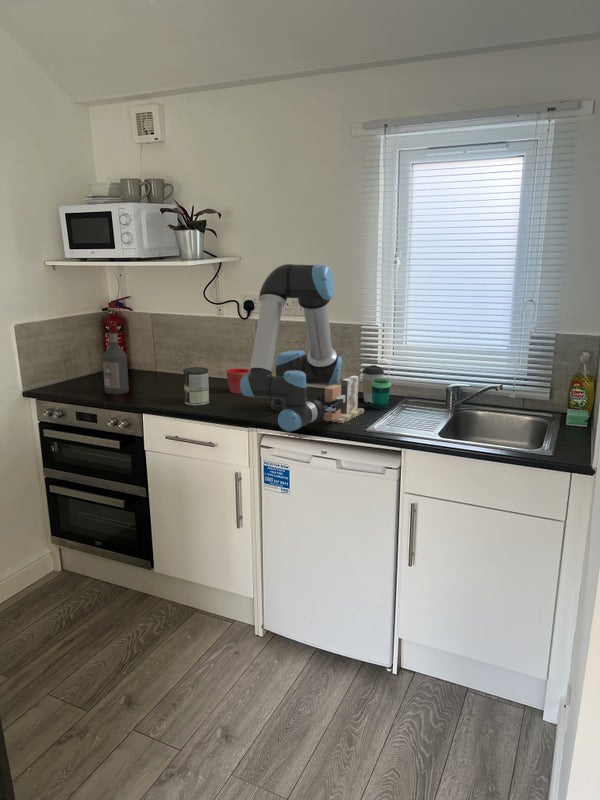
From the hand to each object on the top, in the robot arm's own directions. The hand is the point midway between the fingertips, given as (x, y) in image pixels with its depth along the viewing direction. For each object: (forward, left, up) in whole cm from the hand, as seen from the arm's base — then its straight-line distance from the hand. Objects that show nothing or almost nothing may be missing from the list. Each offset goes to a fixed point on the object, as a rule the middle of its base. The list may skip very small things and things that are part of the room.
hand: (339, 397), depth 234 cm
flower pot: (-43, +44, -9) cm, 62 cm away
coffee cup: (+16, +29, -9) cm, 34 cm away
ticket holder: (+2, +3, -8) cm, 9 cm away
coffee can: (-58, +23, -9) cm, 63 cm away
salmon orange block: (-3, -5, -7) cm, 9 cm away
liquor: (-97, +40, -9) cm, 105 cm away
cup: (+18, +17, -9) cm, 26 cm away
